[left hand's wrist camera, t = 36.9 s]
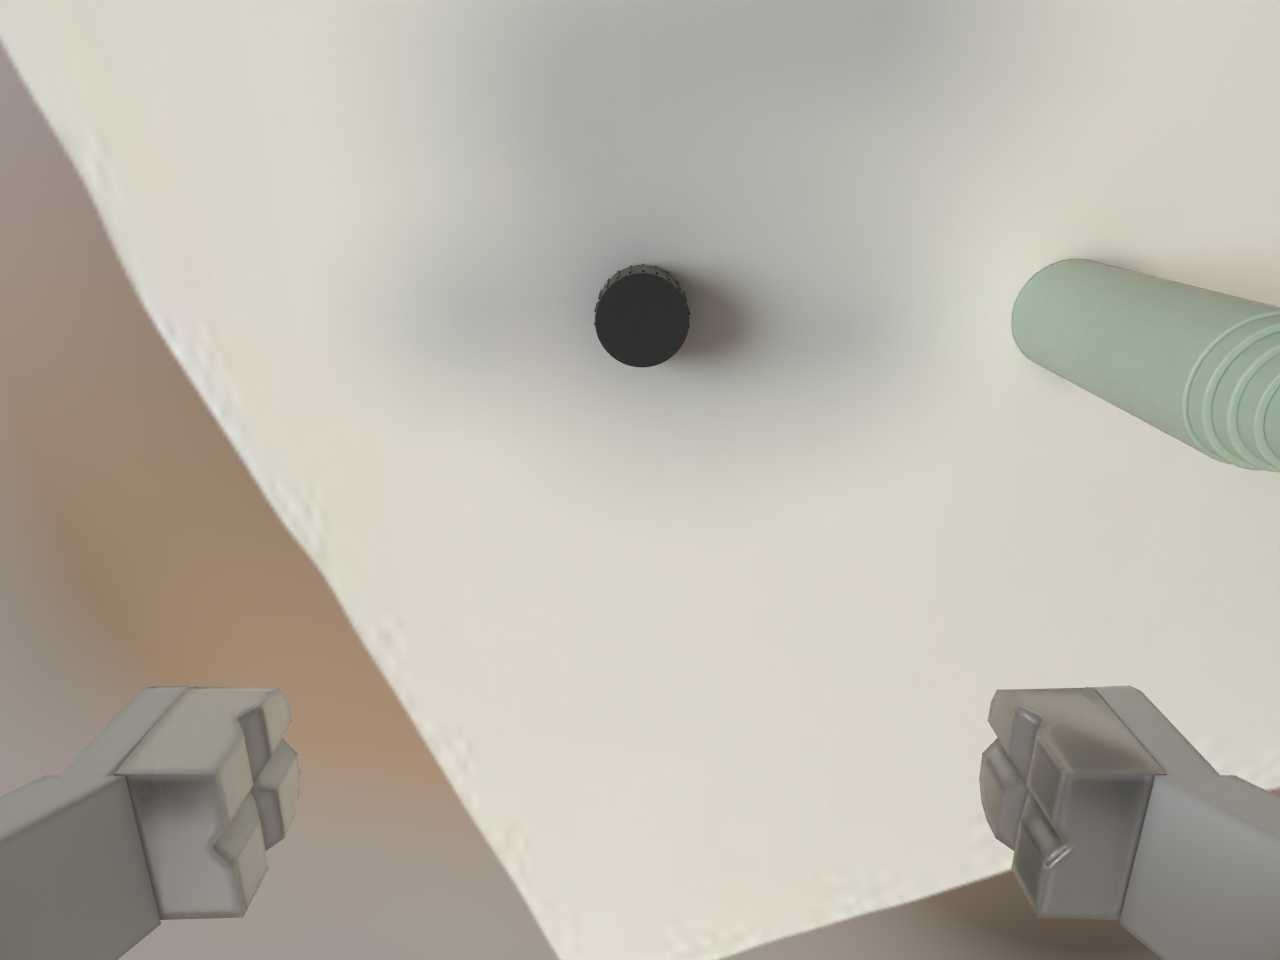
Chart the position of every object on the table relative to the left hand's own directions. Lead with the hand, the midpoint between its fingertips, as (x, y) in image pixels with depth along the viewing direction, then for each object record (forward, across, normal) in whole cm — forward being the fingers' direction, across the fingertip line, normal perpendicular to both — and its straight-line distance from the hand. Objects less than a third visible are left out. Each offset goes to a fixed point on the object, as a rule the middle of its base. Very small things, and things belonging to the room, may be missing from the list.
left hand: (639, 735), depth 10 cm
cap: (+29, 0, 0) cm, 29 cm away
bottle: (+29, +18, 0) cm, 34 cm away
